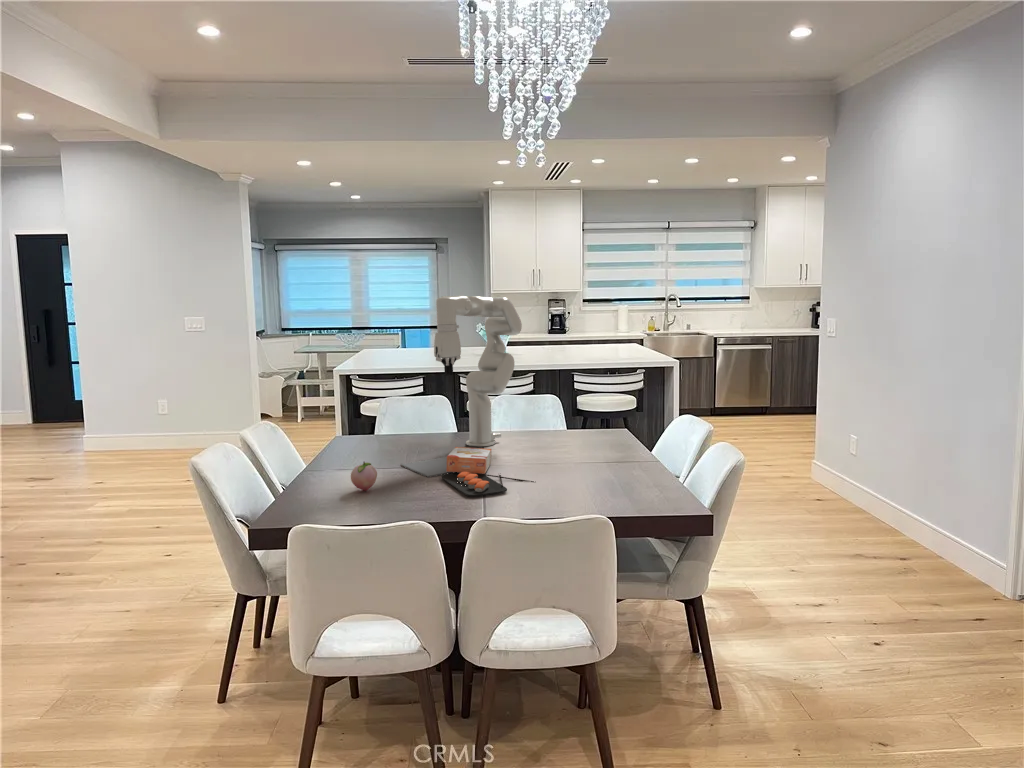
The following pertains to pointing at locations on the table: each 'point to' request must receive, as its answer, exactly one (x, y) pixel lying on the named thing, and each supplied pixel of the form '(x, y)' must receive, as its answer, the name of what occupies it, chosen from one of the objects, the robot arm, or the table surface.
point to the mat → (429, 466)
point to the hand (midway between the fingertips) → (448, 374)
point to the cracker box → (469, 460)
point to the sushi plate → (476, 483)
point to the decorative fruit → (364, 476)
